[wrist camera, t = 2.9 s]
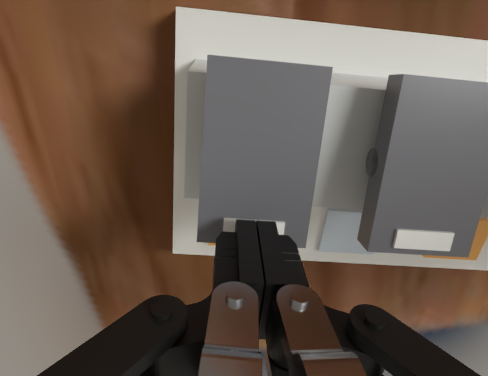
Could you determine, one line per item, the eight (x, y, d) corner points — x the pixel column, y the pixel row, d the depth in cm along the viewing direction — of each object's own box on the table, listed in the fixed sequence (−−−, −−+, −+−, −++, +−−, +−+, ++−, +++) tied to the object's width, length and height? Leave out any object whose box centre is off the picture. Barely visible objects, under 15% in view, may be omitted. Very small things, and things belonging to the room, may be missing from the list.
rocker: (319, 68, 14) (334, 67, 12) (296, 230, 16) (306, 250, 14) (209, 58, 14) (207, 54, 12) (199, 224, 16) (196, 243, 14)
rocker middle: (484, 85, 15) (521, 85, 13) (442, 239, 17) (470, 259, 15) (382, 75, 14) (405, 73, 13) (352, 234, 16) (369, 253, 15)
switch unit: (576, 50, 20) (704, 64, 15) (479, 253, 26) (544, 315, 21) (180, 6, 18) (161, 5, 13) (176, 235, 24) (162, 299, 19)
